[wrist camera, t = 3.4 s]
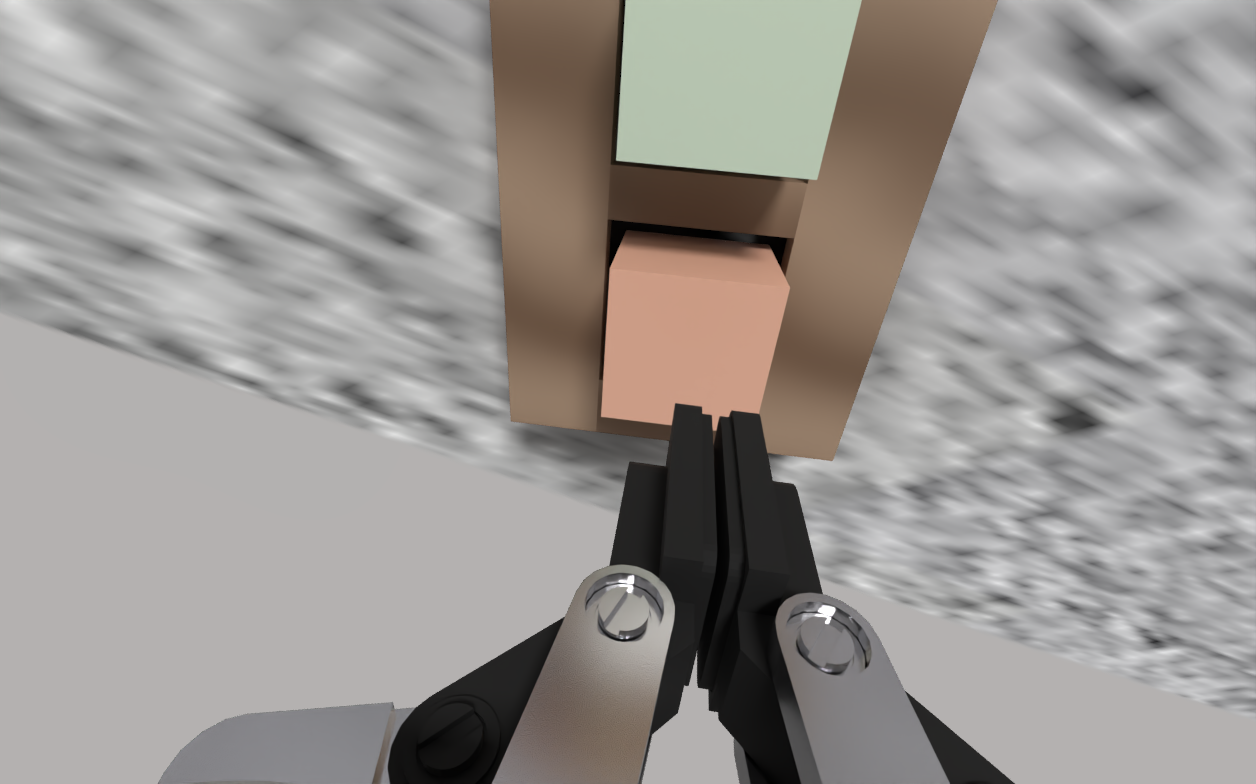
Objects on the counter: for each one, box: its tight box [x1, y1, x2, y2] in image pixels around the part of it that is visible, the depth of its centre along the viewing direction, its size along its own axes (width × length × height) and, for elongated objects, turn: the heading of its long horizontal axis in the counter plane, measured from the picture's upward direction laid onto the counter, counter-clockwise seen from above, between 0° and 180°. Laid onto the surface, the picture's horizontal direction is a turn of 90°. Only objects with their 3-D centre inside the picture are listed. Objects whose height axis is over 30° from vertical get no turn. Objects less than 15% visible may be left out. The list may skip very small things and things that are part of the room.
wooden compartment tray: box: [490, 0, 998, 461], centre depth 15 cm, size 24×12×4 cm, turn 175°
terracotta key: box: [601, 230, 790, 431], centre depth 16 cm, size 4×4×4 cm
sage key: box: [616, 0, 862, 180], centre depth 12 cm, size 4×4×4 cm
